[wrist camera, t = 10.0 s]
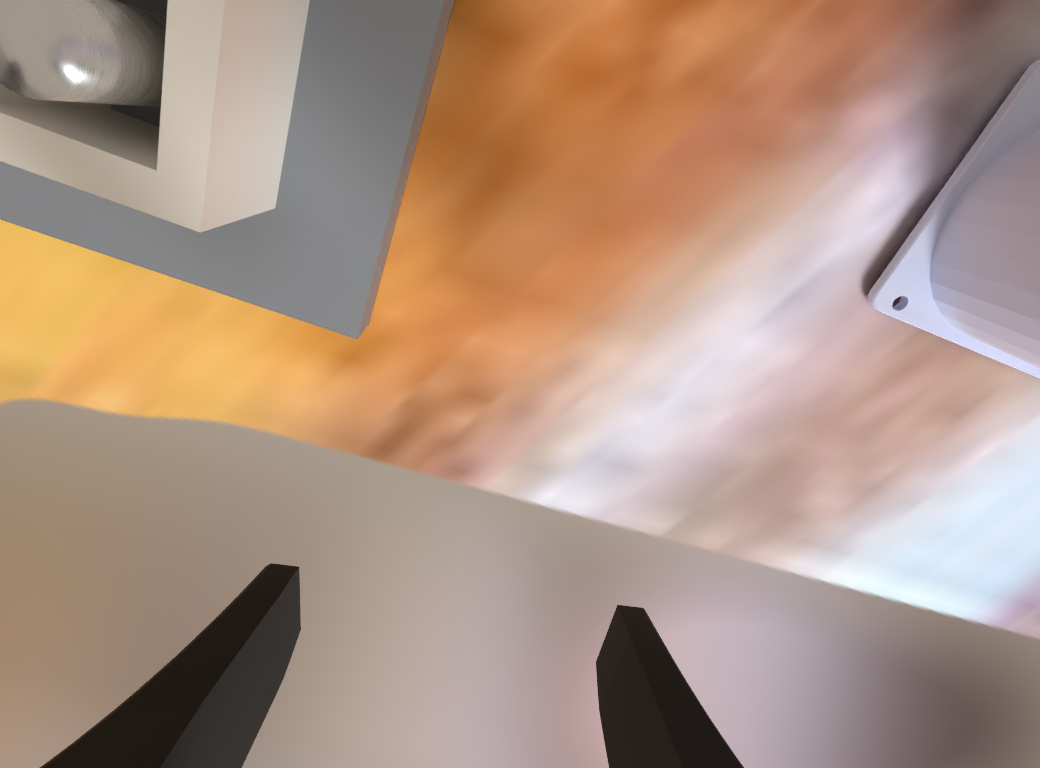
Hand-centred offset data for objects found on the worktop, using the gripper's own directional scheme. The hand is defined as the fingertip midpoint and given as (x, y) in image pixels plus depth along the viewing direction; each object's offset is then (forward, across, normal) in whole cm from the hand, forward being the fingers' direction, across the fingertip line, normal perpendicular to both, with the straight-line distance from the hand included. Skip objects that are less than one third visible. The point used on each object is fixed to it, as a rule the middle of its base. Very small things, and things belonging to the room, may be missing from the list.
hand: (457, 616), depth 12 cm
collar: (+8, +9, -10) cm, 16 cm away
